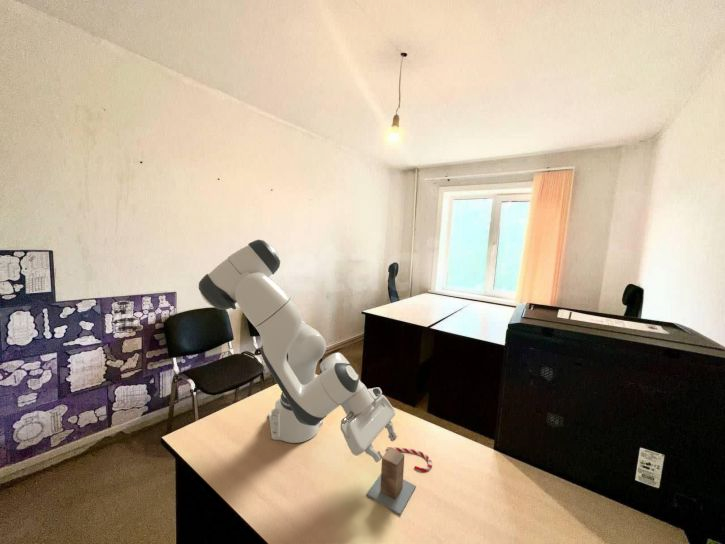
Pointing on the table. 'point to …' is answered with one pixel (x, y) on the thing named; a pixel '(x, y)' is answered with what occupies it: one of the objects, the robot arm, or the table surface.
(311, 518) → the table surface
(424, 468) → the candy cane
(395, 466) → the walnut block
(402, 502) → the slate mat
